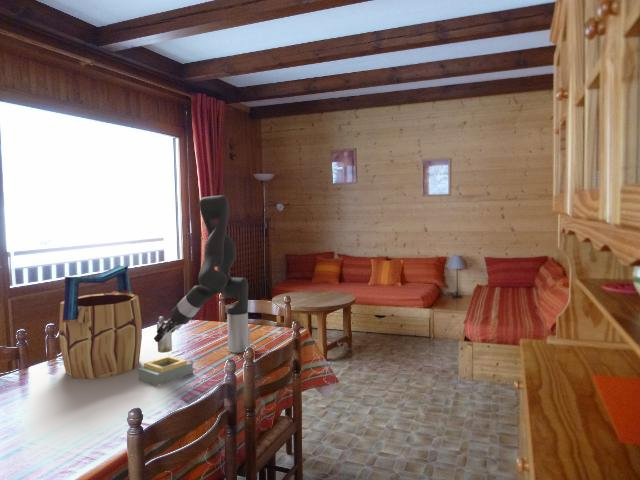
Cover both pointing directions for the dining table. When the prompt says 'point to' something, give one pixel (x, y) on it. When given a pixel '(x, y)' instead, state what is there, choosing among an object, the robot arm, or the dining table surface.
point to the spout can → (164, 339)
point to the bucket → (100, 328)
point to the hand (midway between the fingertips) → (160, 338)
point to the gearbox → (164, 370)
